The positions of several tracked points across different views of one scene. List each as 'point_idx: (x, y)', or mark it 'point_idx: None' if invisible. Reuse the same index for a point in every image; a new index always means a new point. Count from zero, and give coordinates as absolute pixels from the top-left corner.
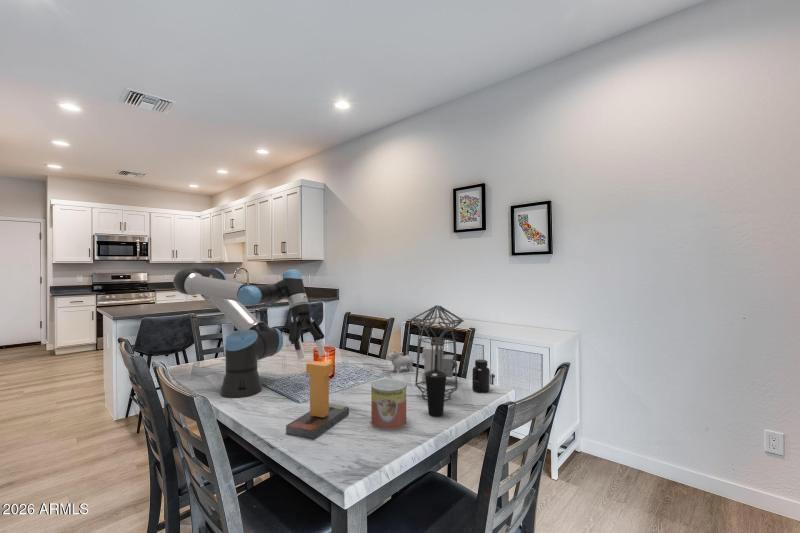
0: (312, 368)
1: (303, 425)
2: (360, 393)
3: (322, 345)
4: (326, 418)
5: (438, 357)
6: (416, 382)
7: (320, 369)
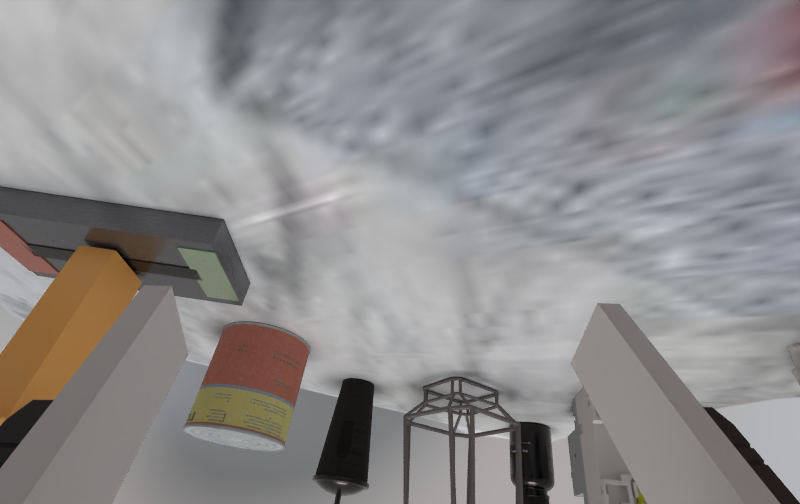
0: None
1: (18, 248)
2: (463, 280)
3: (638, 468)
4: None
5: (586, 495)
6: (448, 417)
7: None
